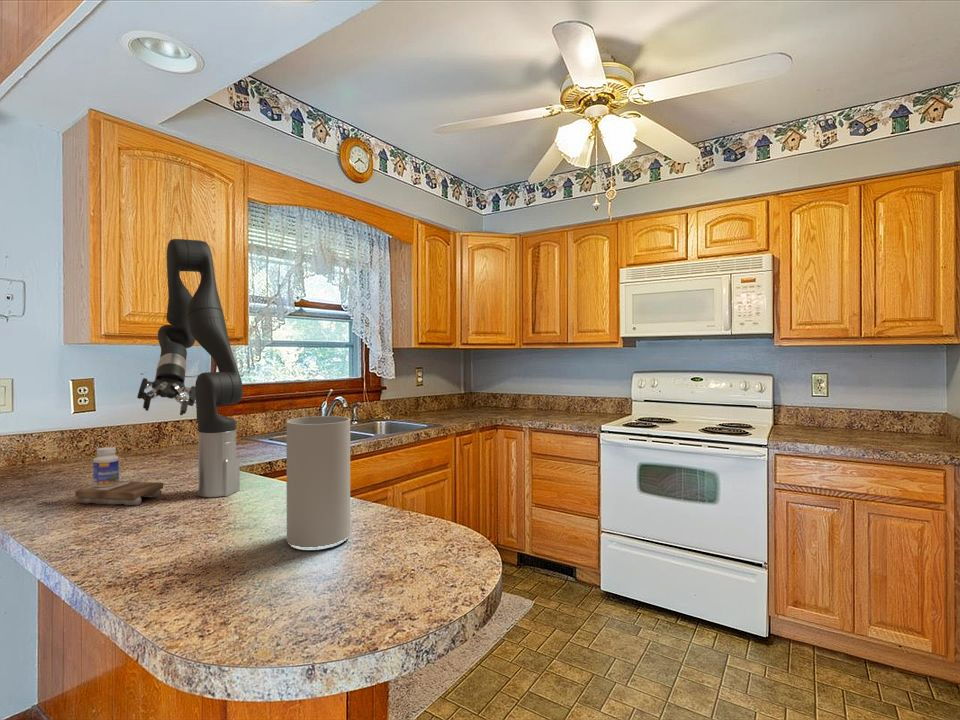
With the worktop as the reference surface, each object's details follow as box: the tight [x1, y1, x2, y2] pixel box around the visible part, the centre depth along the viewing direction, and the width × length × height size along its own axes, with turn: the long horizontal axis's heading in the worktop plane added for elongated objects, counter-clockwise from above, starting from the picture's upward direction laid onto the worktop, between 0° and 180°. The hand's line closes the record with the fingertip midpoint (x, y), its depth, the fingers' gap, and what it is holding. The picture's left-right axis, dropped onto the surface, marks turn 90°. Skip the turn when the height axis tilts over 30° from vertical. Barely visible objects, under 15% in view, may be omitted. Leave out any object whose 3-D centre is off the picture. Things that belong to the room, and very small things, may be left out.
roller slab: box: [74, 480, 164, 506], centre depth 131 cm, size 16×10×4 cm, turn 84°
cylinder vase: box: [285, 415, 351, 547], centre depth 104 cm, size 12×12×25 cm
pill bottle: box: [92, 446, 120, 487], centre depth 132 cm, size 5×5×10 cm
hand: (164, 411), depth 142 cm, fingers open, 8 cm apart
